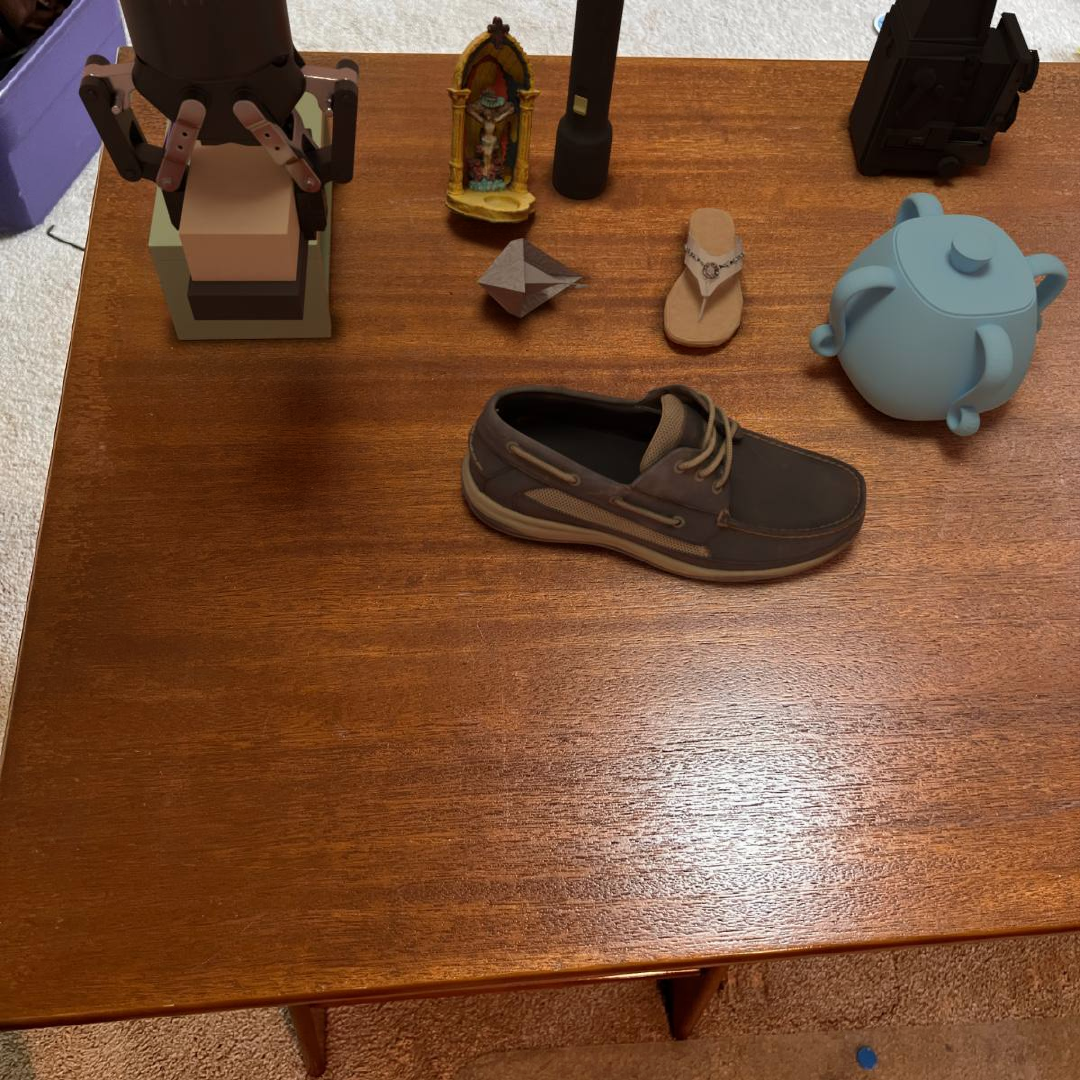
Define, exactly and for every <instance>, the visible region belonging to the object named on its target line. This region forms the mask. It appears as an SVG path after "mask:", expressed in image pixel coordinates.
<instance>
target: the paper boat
mask: <svg viewBox="0 0 1080 1080" xmlns="http://www.w3.org/2000/svg"><path fill="white" fill-rule="evenodd" d="M582 278H583V276H582V275H580V274H579V273H578V272H576V271H574V270H573V269H571V268H570V267H568V266H567V265H565V264H564V263H562V262H560V261H559V260H558V259H556V258H554V257H553V256H552V255H549V254H548V253H547V252H546V251H543V250H542V249H541V248H539V247H537V246H536V245H534V244H533V243H531V242H529V241H528V240H526V239H525V238H523V237H522V238H518V239H514V240H511V241H510V242H509V243H508V244H507V245H506V247H504V249H503V250H502V251H501V252H500V254H498V256H497V257H496V258H495V259H494V260H493V262H492V263H491V264H490V265H489V266H488V268H487V269H486V270H485V271H484V272H483V274H482V275H481V276H480V277H479V278H478V280H477V281H476V282H477V284H478V285H479V286H480V287H481V288H482V289H483V290H484V291H485V292H486V293H488V295H489V296H491V297H492V298H493V299H494V300H495V301H496V302H497V303H498V304H499V305H500V306H501V307H502V308H503V309H504V310H505V311H506V312H507V313H509V314H510V315H513V316H515V317H517V318H518V319H521V318H523V317H524V316H526V315H527V314H529V313H530V312H531V311H533V310H535V309H536V308H538V307H540V306H541V305H542V304H544V303H545V302H547V301H548V300H550V299H551V298H554V296H556V295H557V294H559V293H560V292H562V291H563V290H565V289H567V288H568V287H570V286H575V287H574V289H585V288H590V287H591V285H590V284H582V283H575V282H577V281H579V280H580V279H582Z"/></svg>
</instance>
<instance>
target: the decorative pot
mask: <svg viewBox="0 0 1080 1080" xmlns="http://www.w3.org/2000/svg"><path fill="white" fill-rule="evenodd" d="M1043 276H1045V277H1044V278H1043V279H1042V280H1041V281H1040V282H1039V283H1038V284H1037V285H1036V282H1035V278H1039V277H1043ZM1068 281H1069V272H1068V269H1067V267H1066V266H1065V263H1064V262H1063V261H1062V260H1061V259H1060V258H1059V257H1057V256H1055V255H1054V254H1051V253H1035V254H1031V255H1027V256H1025V254H1024V253H1023V252H1022V251H1021V249H1020V248H1019V247H1018V245H1017V244H1016V242H1015V241H1014V240H1013V239H1012V238H1011V236H1009V235H1008V233H1007V232H1006V231H1004V229H1002V228H1001V227H1000V226H999V225H997V224H996V223H995V222H993V221H992V220H989V219H987V218H984V217H982V216H977V215H971V214H945V213H944V208H943V206H942V203H941V201H940V200H939V199H938V198H937V197H936V196H935V195H933V194H931V193H927V192H913V193H911V194H908V195H907V196H905V197H904V199H902V201H901V203H900V205H899V208H898V210H897V213H896V216H895V219H894V223H893V227H892V228H890V229H889V230H888V231H886V232H885V233H883V234H882V235H880V236H879V237H878V238H876V239H875V240H874V241H873V242H871V243H870V244H868V246H867V247H865V248H864V249H863V250H861V252H860V253H859V254H858V255H857V256H856V257H855V258H854V259H853V260H852V262H851V263H850V264H849V265H848V267H847V268H846V269H845V271H844V272H843V274H842V275H841V277H840V278H839V279H838V281H837V283H836V284H835V286H834V287H833V290H832V292H831V296H830V302H829V312H828V323H823V324H820V325H818V326H816V327H814V328H813V330H812V331H811V332H810V334H809V339H808V342H809V348H810V349H811V351H812V352H813V354H814V353H815V354H816V355H818V356H819V357H824V358H831V357H832V358H833V357H835V356H837V359H838V361H839V363H840V365H841V368H842V369H843V371H844V372H845V374H846V376H847V377H848V379H849V381H850V382H851V383H852V385H853V386H854V388H855V389H856V391H857V392H858V393H859V394H860V395H861V396H862V398H863V399H865V401H866V402H867V403H868V404H869V405H871V406H872V407H873V408H874V409H876V410H877V411H879V412H881V413H883V414H884V415H887V416H888V417H890V418H894V419H899V420H904V421H915V422H916V421H917V422H918V421H920V422H921V421H923V422H925V421H929V422H930V421H944V420H946V425H947V427H948V428H949V430H950V431H951V432H952V433H953V434H954V435H957V436H960V437H969V436H971V435H973V434H975V433H976V432H978V430H979V428H980V425H981V417H980V414H981V413H984V412H988V411H992V410H994V409H997V408H999V407H1001V406H1002V405H1004V404H1006V403H1008V402H1009V401H1010V400H1011V399H1013V397H1014V396H1015V395H1016V393H1017V392H1018V390H1019V388H1020V387H1021V385H1022V384H1023V383H1024V380H1025V379H1026V376H1027V373H1028V371H1029V369H1030V366H1031V363H1032V359H1033V356H1034V352H1035V347H1036V342H1037V334H1039V332H1040V331H1041V329H1042V326H1043V317H1042V313H1043V312H1044V311H1045V310H1046V309H1047V308H1048V307H1049V306H1050V305H1051V304H1052V303H1053V302H1054V301H1055V300H1056V299H1057V298H1058V297H1059V296H1060V295H1061V293H1063V291H1064V290H1065V288H1066V286H1067V284H1068Z"/></svg>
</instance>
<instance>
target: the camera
mask: <svg viewBox="0 0 1080 1080" xmlns="http://www.w3.org/2000/svg"><path fill="white" fill-rule="evenodd" d="M997 4H998V0H895V2H894V3H892V4H891V6H890V8H889V11H886V12H885V15H884V18H883V21H882V24H881V26H880V29H879V32H878V34H877V37H876V40H875V43H874V46H873V49H872V50H871V51H872V52H871V54H870V57H869V60H868V63H867V64H866V65H867V66H866V69H865V71H864V74H863V77H862V80H861V83H860V85H859V87H858V90H857V94H856V97H855V99H854V101H853V102H854V103H853V105H852V108H851V111H850V113H849V115H848V116H849V117H848V123H849V128H850V132H851V136H852V141H853V145H854V148H855V153H856V156H857V157H856V158H857V162H858V166H859V170H862V173H863V174H864V175H865V176H877V175H880V173H881V172H882V171H883V170H885V171H908V172H929V173H931V172H932V173H933V172H935V173H938V175H939V176H940V177H941V178H945V179H946V178H952V177H954V176H955V175H956V174H957V173H958V172H959V171H960V169H961V166H972V167H973V166H974V167H986V165H987V163H988V162H989V160H990V158H991V153H992V152H991V150H992V142H993V140H994V138H995V137H996V134H997V133H1002V134H1006V133H1007V132H1008V130H1009V129H1010V128H1011V127H1012V125H1013V124H1015V122H1016V121H1017V116H1018V110H1019V105H1020V101H1021V97H1020V95H1019V93H1021V94H1026V93H1028V92H1029V91H1031V90H1032V88H1033V87H1034V85H1035V83H1036V79H1037V78H1038V75H1039V69H1040V63H1041V62H1040V61H1041V60H1040V56H1039V52H1038V49H1032V48H1029V46H1028V44H1027V40H1026V38H1025V36H1024V33H1023V31H1022V28H1021V25H1020V23H1019V20H1018V17H1017V14H1016V13H1015V12H1009V11H1008V12H1007V11H1002V13H1000V16H1001V17H1000V19H999V21H998V23H997V25H996V27H994V26H992V23H993V18H994V14H995V10H996V7H997Z"/></svg>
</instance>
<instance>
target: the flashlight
mask: <svg viewBox="0 0 1080 1080" xmlns="http://www.w3.org/2000/svg"><path fill="white" fill-rule="evenodd" d="M624 6H625V0H576V6H575V17H574V27H573V35H572V36H573V37H572V48H571V55H570V66H569V67H570V68H569V76H568V86H567V87H568V88H567V98H566V107H565V114H563V115H562V117H561V118H560V119H559V121H558V124H557V128H556V129H557V130H556V135H555V144H554V153H553V154H554V155H553V163H552V175H551V183H552V185H553V188H554V189H555V190H556V191H557V192H558V193H559V194H561V195H562V196H564V197H567V198H569V199H571V200H579V201H580V200H581V201H583V200H590V199H594V198H596V197H598V196H600V195H601V194H602V193H603V192H604V191H605V189H606V187H607V181H608V175H609V168H610V161H611V153H612V146H613V140H614V139H613V137H614V136H613V133H614V131H613V128H614V127H613V125H612V123H611V121H610V119H609V114H610V106H611V100H612V94H613V93H612V92H613V85H614V78H615V71H616V64H617V58H618V57H617V55H618V49H619V42H620V35H621V29H622V20H623V13H624Z"/></svg>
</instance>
